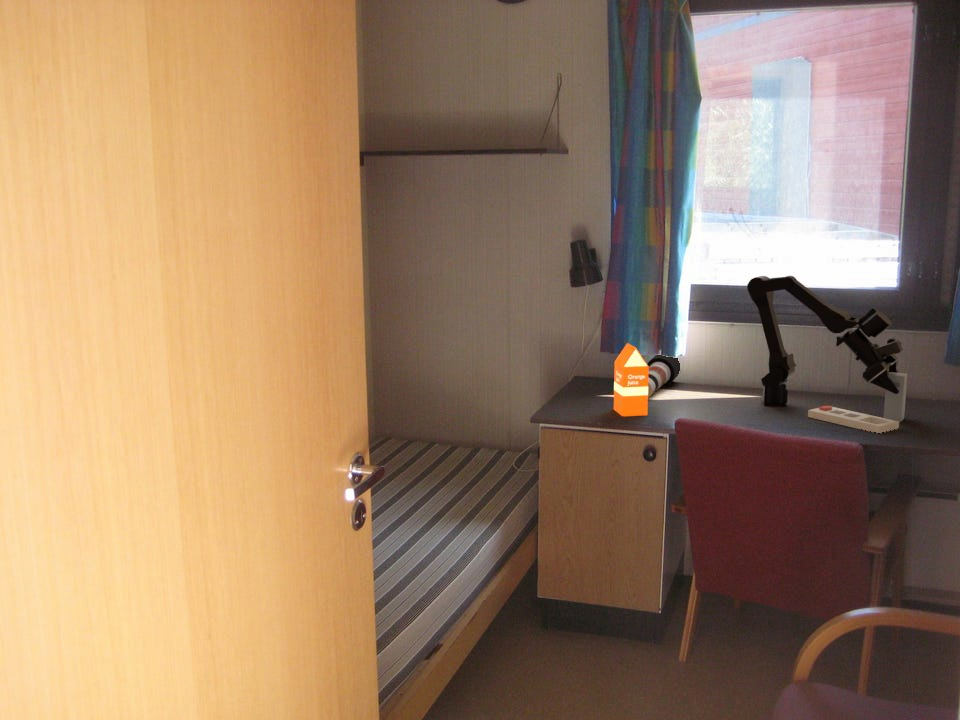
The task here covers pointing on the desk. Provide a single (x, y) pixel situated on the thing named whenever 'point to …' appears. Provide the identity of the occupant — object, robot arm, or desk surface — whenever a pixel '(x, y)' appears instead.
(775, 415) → the desk surface
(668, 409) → the desk surface
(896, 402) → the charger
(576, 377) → the desk surface
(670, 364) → the telephoto camera lens
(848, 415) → the power strip
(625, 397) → the orange juice
